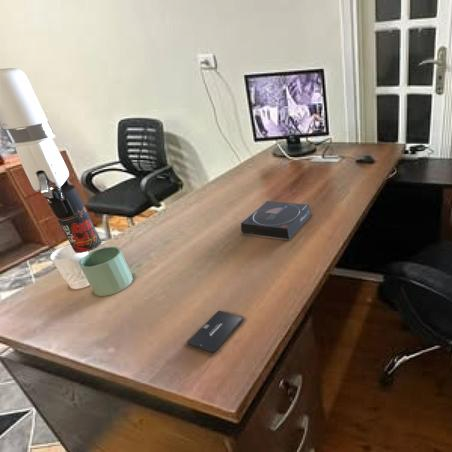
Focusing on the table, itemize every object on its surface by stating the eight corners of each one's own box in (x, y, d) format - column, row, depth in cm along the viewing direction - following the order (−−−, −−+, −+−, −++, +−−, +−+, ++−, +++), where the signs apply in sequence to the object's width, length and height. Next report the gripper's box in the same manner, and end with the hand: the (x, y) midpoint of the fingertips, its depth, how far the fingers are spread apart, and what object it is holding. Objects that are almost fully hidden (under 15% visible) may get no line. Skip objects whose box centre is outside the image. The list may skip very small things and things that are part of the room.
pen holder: (91, 300, 88) (75, 271, 84) (96, 280, 96) (82, 253, 92) (131, 288, 91) (118, 260, 87) (134, 269, 99) (122, 243, 95)
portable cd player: (267, 210, 125) (265, 200, 123) (311, 215, 119) (309, 204, 117) (241, 234, 112) (239, 223, 110) (289, 240, 106) (287, 228, 104)
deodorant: (69, 254, 83) (37, 197, 76) (81, 241, 88) (52, 187, 81) (95, 250, 84) (66, 193, 77) (105, 238, 89) (79, 183, 82)
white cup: (76, 294, 91) (58, 263, 86) (62, 286, 95) (44, 255, 90) (106, 277, 97) (90, 247, 92) (91, 270, 101) (76, 240, 96)
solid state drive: (187, 344, 72) (186, 342, 72) (219, 312, 80) (218, 310, 80) (213, 354, 70) (212, 351, 69) (243, 319, 77) (243, 317, 77)
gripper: (22, 129, 78) (60, 201, 87) (-8, 147, 64) (40, 231, 73) (61, 123, 81) (94, 194, 90) (40, 139, 67) (81, 221, 76)
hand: (69, 210), depth 81 cm, fingers closed on deodorant, 6 cm apart
